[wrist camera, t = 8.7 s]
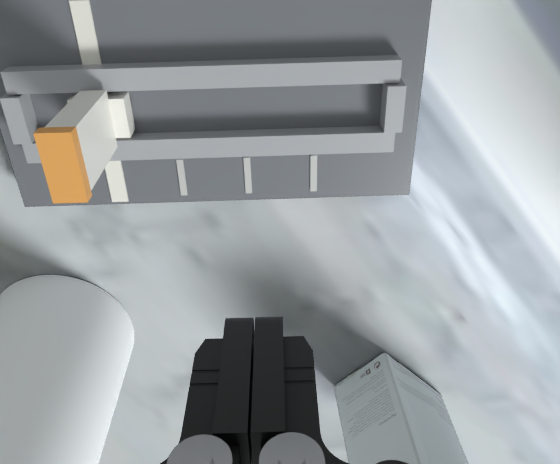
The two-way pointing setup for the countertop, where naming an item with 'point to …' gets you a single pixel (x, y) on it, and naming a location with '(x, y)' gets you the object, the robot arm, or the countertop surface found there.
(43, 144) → the fader tab
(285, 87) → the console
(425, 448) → the skincare box
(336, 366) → the countertop surface
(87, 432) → the tall pillar cylinder
